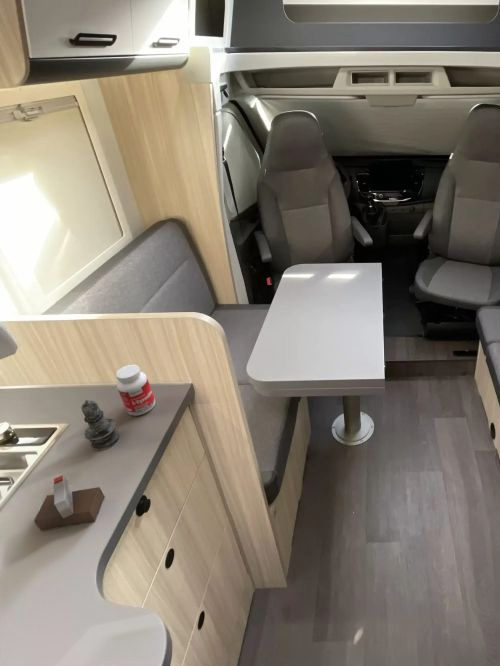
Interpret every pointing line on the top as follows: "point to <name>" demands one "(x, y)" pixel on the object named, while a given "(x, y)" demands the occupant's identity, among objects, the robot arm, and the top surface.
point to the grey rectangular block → (63, 496)
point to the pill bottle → (135, 390)
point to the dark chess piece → (99, 427)
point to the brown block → (83, 510)
